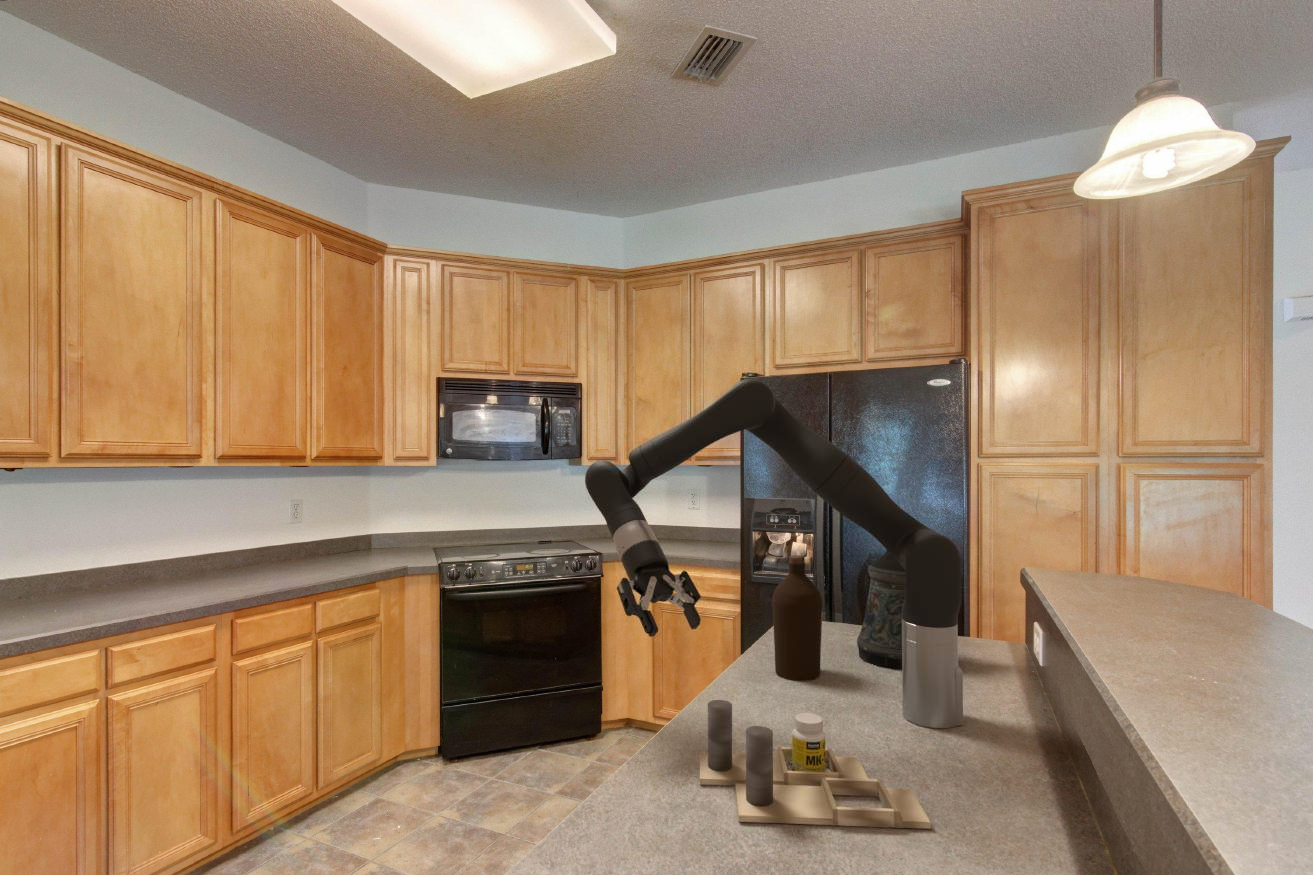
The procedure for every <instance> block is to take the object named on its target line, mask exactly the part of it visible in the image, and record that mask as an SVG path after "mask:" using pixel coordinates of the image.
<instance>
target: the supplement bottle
mask: <svg viewBox="0 0 1313 875" xmlns="http://www.w3.org/2000/svg"><path fill="white" fill-rule="evenodd" d="M823 724H824V723H823V718H822V716H820V715H818V714H815V713H812V712H802V713H801V712H800V713H797V714H796V715H795V716H794V728H793V730H792V733H791V734H792V736H791V739H792V740H791V741H792V742H791V743H792V744H791V747H792V762H791V764H792V766H791V768H792V769H791V771H810V772H826V763H825V748H826V733H825V731H823V730H824V729H823V728H824V725H823Z"/></svg>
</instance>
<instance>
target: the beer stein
mask: <svg viewBox="0 0 1313 875" xmlns="http://www.w3.org/2000/svg"><path fill="white" fill-rule="evenodd" d="M867 571H868V575H869V577H870V584H869V589H868V596H867V601H866V609H865V614H864V619H863V623H862V626H861V630H860V631H859V634H858V636H857V639H856V644H857V650H858V657H859V658H860V659H861V661H863V663H867V664H870V665H872V664H873V665H872V666H875V665H876V667H879V668H883V669H889V668H890V670H895V671H902V604H903V602H904V599H905V569H904V568H903V567H902V566H901V565H900V563H899V562H898V561H897V560H896V559H895V558H894V557H893V556H892V554H891V553H890V552H889V551H888V550H887V549H886V551H885V553H884V554H883V555H881V556H880V557H878V558H877V559H876V560H874V561H872V562H871V563H870V565H869V566H868V568H867Z"/></svg>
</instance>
